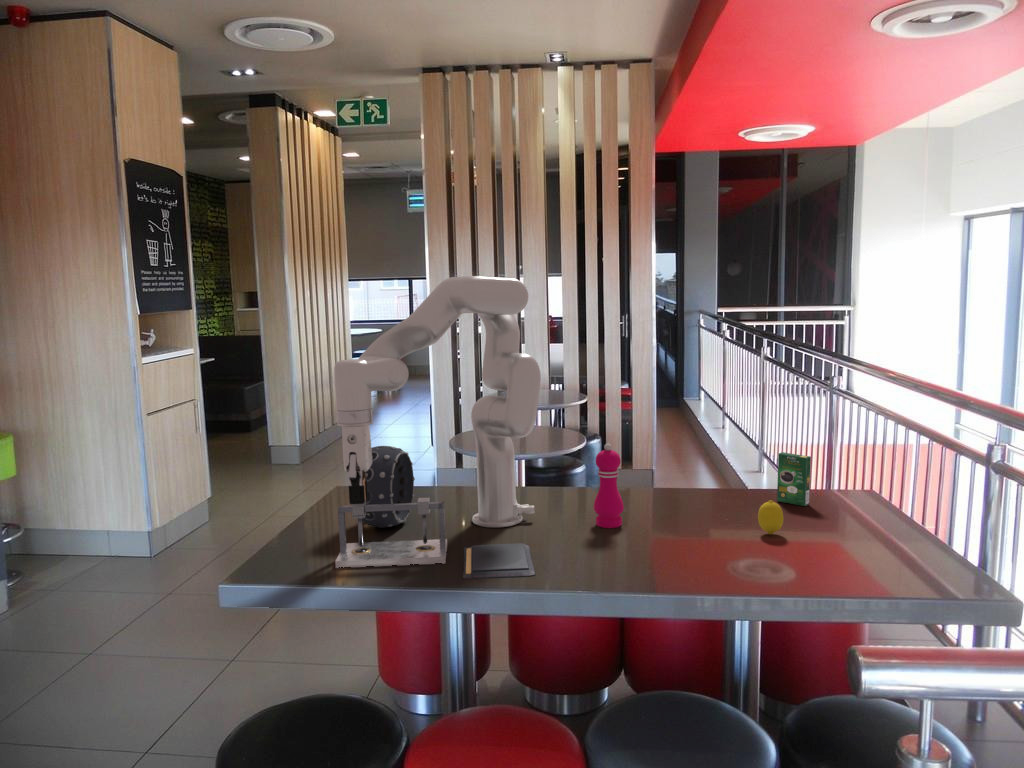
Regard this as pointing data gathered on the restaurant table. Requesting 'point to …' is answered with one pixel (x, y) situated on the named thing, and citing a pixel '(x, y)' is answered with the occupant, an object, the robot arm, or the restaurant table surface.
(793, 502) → the coffee box
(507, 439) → the robot arm
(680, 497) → the restaurant table surface
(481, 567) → the dark grey flat slab
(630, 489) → the restaurant table surface
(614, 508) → the pepper mill
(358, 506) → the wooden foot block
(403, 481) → the ring
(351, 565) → the switch panel
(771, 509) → the lemon
